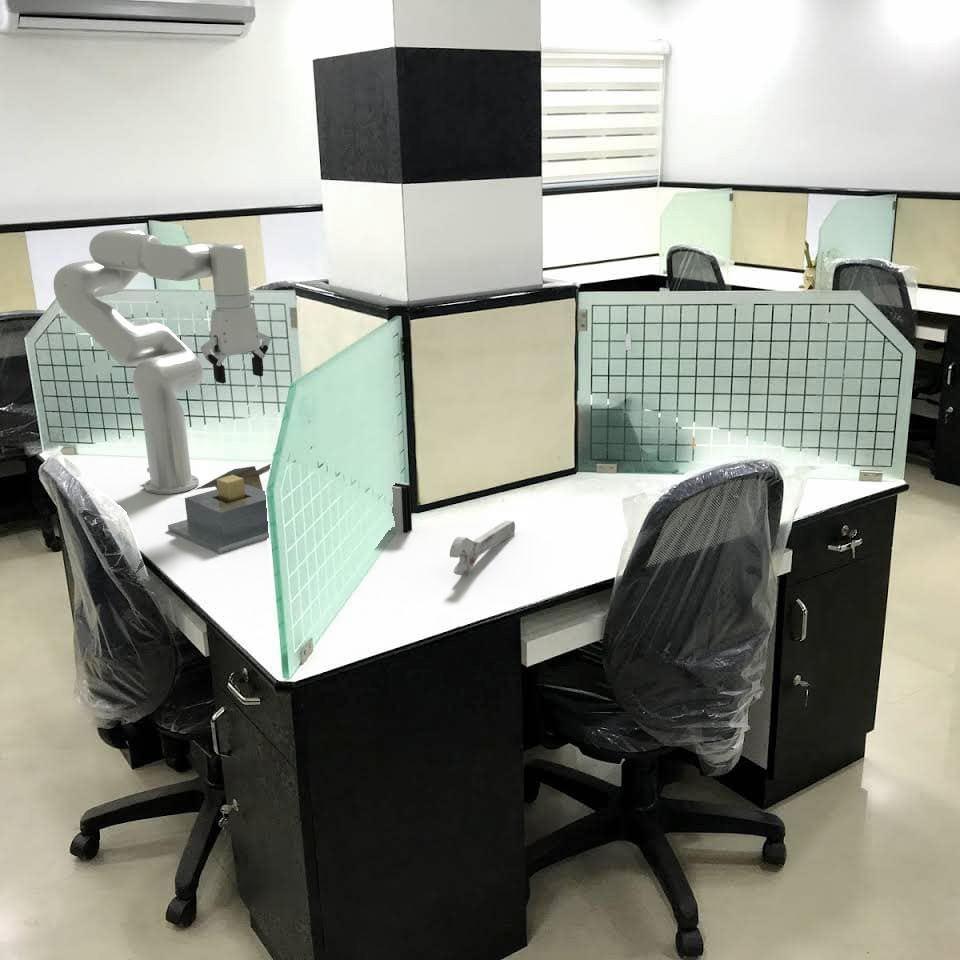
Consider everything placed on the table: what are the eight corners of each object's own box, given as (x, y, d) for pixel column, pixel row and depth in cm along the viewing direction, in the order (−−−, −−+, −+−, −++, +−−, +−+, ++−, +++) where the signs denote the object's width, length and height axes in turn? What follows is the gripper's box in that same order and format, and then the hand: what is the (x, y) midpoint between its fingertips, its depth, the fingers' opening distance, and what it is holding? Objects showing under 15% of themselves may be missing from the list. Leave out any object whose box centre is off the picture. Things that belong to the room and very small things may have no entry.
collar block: (168, 530, 213) (164, 498, 211) (248, 506, 227) (245, 476, 224) (219, 553, 200) (215, 520, 198) (300, 527, 213) (298, 495, 211)
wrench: (514, 545, 209) (457, 585, 182) (506, 544, 210) (448, 583, 182) (516, 508, 207) (458, 542, 180) (507, 507, 208) (449, 541, 181)
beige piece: (207, 521, 230) (241, 487, 222) (191, 489, 232) (225, 454, 224) (261, 512, 243) (295, 479, 235) (246, 481, 245) (279, 448, 237)
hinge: (346, 529, 212) (343, 484, 209) (356, 520, 217) (353, 476, 214) (408, 534, 208) (406, 488, 205) (416, 525, 213) (414, 480, 210)
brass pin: (221, 523, 213) (216, 479, 210) (237, 518, 216) (232, 474, 213) (231, 528, 210) (227, 483, 207) (247, 523, 213) (243, 478, 210)
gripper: (256, 296, 227) (262, 370, 232) (188, 305, 215) (196, 383, 221) (275, 299, 222) (281, 375, 227) (206, 308, 210) (214, 387, 216)
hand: (239, 378), depth 224 cm, fingers open, 9 cm apart
